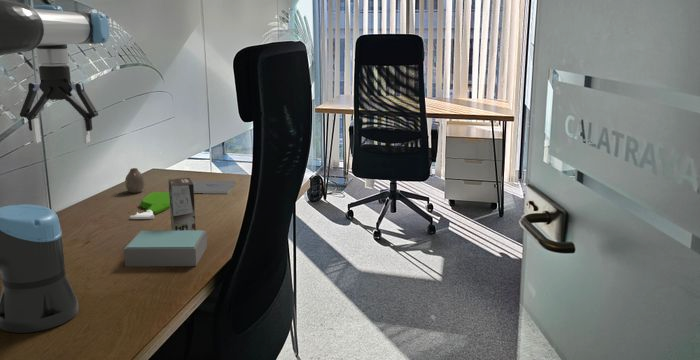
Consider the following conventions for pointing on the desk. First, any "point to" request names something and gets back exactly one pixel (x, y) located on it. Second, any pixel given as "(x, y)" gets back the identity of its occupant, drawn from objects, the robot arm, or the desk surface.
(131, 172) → the vase
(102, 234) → the desk surface
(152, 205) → the spray bottle
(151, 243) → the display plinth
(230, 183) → the play button award
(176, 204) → the coffee box
